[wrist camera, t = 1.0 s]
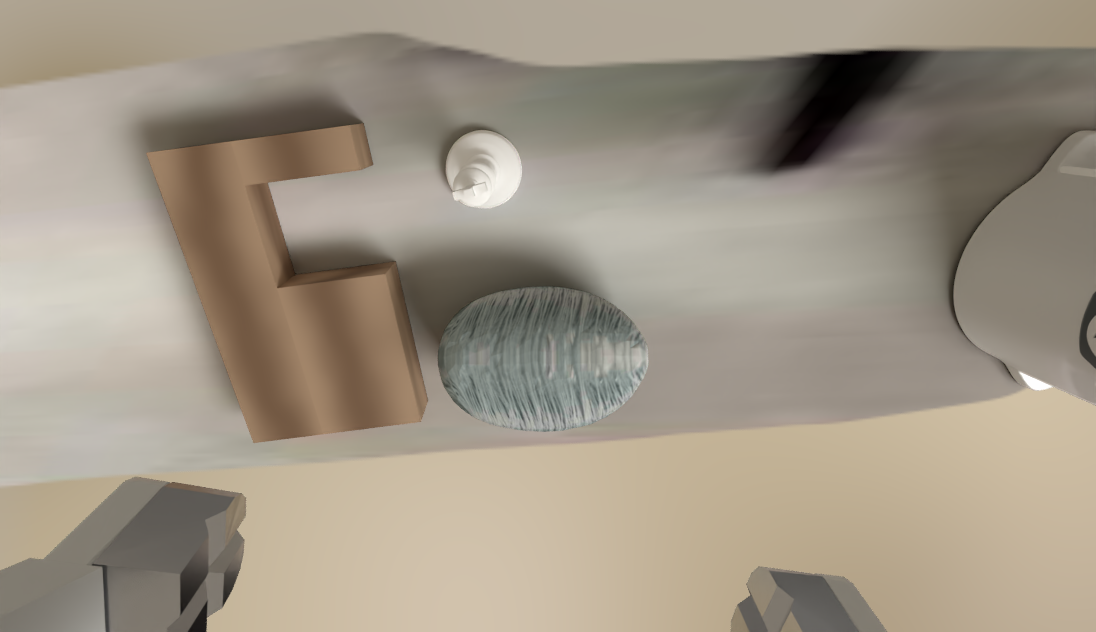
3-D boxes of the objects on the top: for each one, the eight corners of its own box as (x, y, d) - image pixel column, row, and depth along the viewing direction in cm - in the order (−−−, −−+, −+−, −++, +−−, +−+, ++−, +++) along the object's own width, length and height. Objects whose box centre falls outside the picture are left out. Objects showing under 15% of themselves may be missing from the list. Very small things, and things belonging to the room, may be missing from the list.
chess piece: (434, 142, 36) (402, 157, 27) (508, 120, 36) (501, 127, 26) (460, 216, 38) (438, 255, 28) (531, 195, 37) (531, 227, 28)
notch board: (363, 123, 35) (349, 125, 33) (428, 400, 43) (420, 421, 40) (176, 148, 36) (146, 152, 33) (271, 420, 43) (253, 442, 40)
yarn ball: (429, 428, 40) (447, 444, 30) (430, 294, 41) (449, 269, 31) (607, 421, 44) (673, 434, 34) (605, 299, 45) (669, 279, 35)
